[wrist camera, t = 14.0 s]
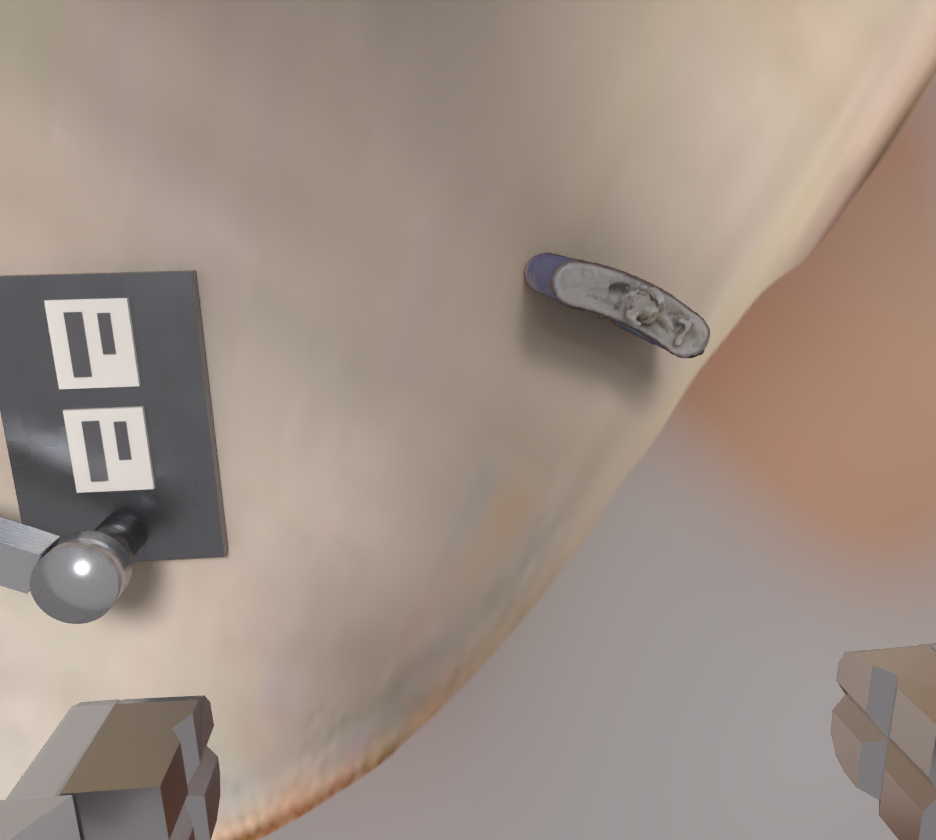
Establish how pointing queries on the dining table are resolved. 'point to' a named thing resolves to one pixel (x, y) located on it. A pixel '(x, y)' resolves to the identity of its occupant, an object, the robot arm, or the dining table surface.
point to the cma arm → (64, 570)
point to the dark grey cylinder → (125, 531)
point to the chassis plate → (161, 393)
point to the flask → (620, 301)
